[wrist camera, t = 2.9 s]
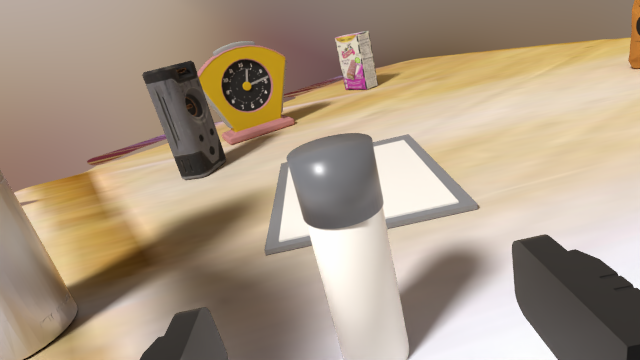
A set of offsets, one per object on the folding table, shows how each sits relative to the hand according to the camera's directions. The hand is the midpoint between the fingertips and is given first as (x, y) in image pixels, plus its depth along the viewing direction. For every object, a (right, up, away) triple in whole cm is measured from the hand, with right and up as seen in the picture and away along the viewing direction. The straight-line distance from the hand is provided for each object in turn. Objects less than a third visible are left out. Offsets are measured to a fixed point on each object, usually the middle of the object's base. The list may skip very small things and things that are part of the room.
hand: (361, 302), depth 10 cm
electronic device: (-23, +5, +65) cm, 70 cm away
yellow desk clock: (-16, +15, +86) cm, 89 cm away
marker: (+3, -8, +15) cm, 18 cm away
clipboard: (+4, +3, +42) cm, 43 cm away
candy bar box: (+12, +32, +112) cm, 117 cm away
